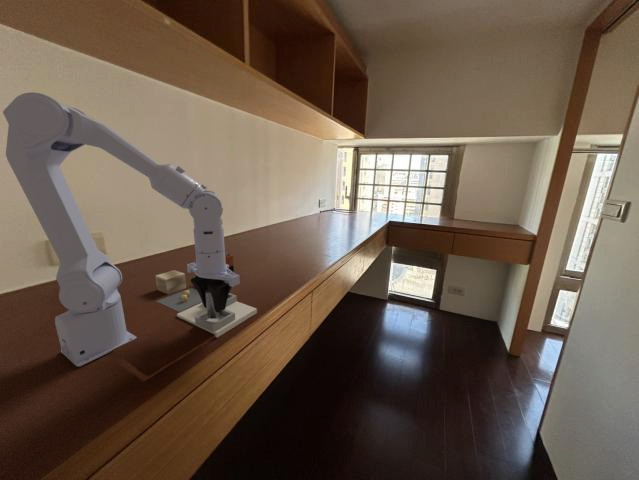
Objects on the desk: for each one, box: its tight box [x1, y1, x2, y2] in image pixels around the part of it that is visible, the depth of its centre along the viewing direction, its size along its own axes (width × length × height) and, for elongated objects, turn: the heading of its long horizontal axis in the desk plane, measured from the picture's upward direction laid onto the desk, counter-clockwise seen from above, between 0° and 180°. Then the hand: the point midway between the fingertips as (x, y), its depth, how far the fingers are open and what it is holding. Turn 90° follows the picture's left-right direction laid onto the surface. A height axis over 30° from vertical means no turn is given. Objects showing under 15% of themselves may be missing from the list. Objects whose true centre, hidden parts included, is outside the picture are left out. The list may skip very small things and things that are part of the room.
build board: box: [176, 292, 258, 338], centre depth 61 cm, size 12×14×7 cm
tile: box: [156, 287, 202, 313], centre depth 69 cm, size 10×10×2 cm
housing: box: [155, 269, 187, 296], centre depth 74 cm, size 5×5×5 cm
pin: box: [205, 289, 223, 319], centre depth 57 cm, size 3×3×6 cm
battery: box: [225, 251, 235, 273], centre depth 81 cm, size 4×7×10 cm, turn 50°
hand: (214, 308), depth 57 cm, fingers closed on pin, 3 cm apart
